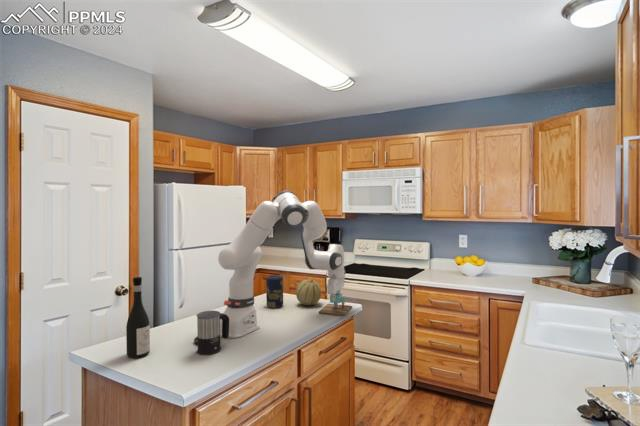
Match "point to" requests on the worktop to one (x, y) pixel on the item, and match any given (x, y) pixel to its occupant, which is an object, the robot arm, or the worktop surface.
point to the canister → (274, 291)
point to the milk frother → (210, 331)
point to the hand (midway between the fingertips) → (336, 298)
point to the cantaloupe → (308, 292)
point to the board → (335, 309)
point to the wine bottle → (138, 326)
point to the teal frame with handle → (337, 298)
